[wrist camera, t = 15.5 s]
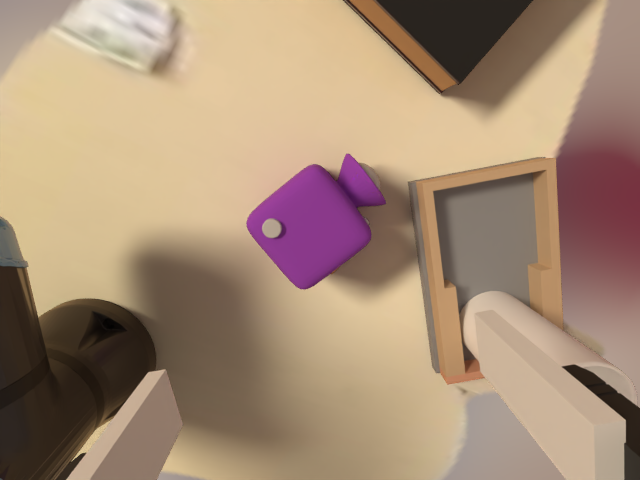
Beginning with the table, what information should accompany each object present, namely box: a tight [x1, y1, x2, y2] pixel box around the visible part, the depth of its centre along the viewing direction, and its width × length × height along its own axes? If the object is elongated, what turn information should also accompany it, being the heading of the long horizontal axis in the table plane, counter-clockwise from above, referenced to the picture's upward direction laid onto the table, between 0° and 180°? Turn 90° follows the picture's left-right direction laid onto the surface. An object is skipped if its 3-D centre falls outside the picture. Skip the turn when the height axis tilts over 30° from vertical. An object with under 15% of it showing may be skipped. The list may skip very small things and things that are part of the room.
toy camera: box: [247, 154, 386, 289], centre depth 38 cm, size 11×14×10 cm
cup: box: [459, 291, 638, 406], centre depth 37 cm, size 8×8×16 cm
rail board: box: [408, 157, 564, 385], centre depth 43 cm, size 15×24×4 cm, turn 11°
